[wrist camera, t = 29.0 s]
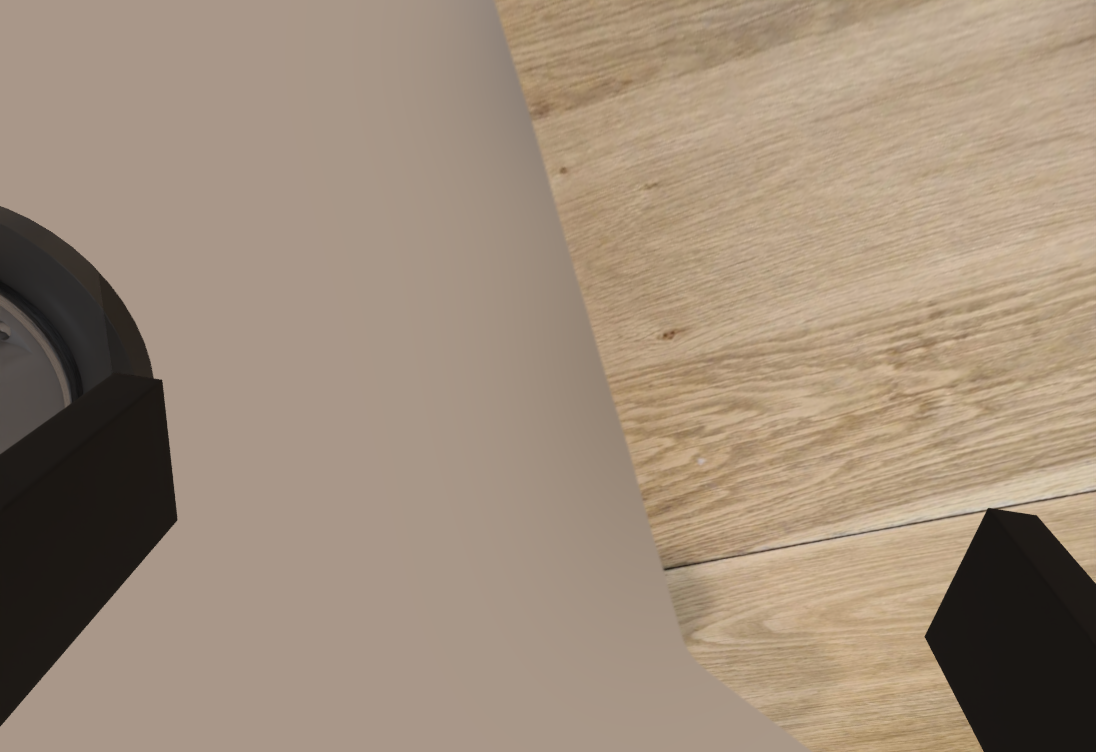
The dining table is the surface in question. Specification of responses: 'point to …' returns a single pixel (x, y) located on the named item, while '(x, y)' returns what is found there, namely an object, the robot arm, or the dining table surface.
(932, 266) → the dining table surface
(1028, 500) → the dining table surface
